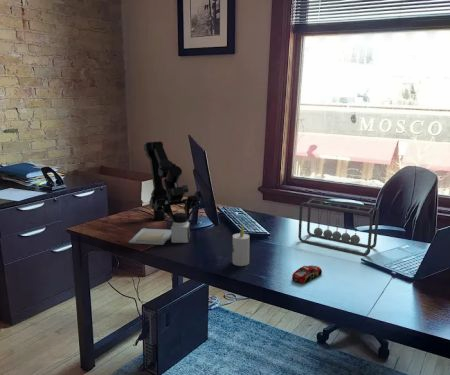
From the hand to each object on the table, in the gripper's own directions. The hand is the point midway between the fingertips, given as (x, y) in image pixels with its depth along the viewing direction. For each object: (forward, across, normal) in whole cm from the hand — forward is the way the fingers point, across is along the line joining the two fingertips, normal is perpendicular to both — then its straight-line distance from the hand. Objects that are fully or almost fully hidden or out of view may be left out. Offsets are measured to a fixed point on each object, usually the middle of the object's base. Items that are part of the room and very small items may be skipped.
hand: (181, 219), depth 170 cm
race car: (+43, +28, -29) cm, 59 cm away
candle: (+29, +13, -15) cm, 35 cm away
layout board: (-1, -10, +14) cm, 17 cm away
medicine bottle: (+6, 0, +8) cm, 10 cm away
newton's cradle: (+30, +57, -16) cm, 66 cm away
